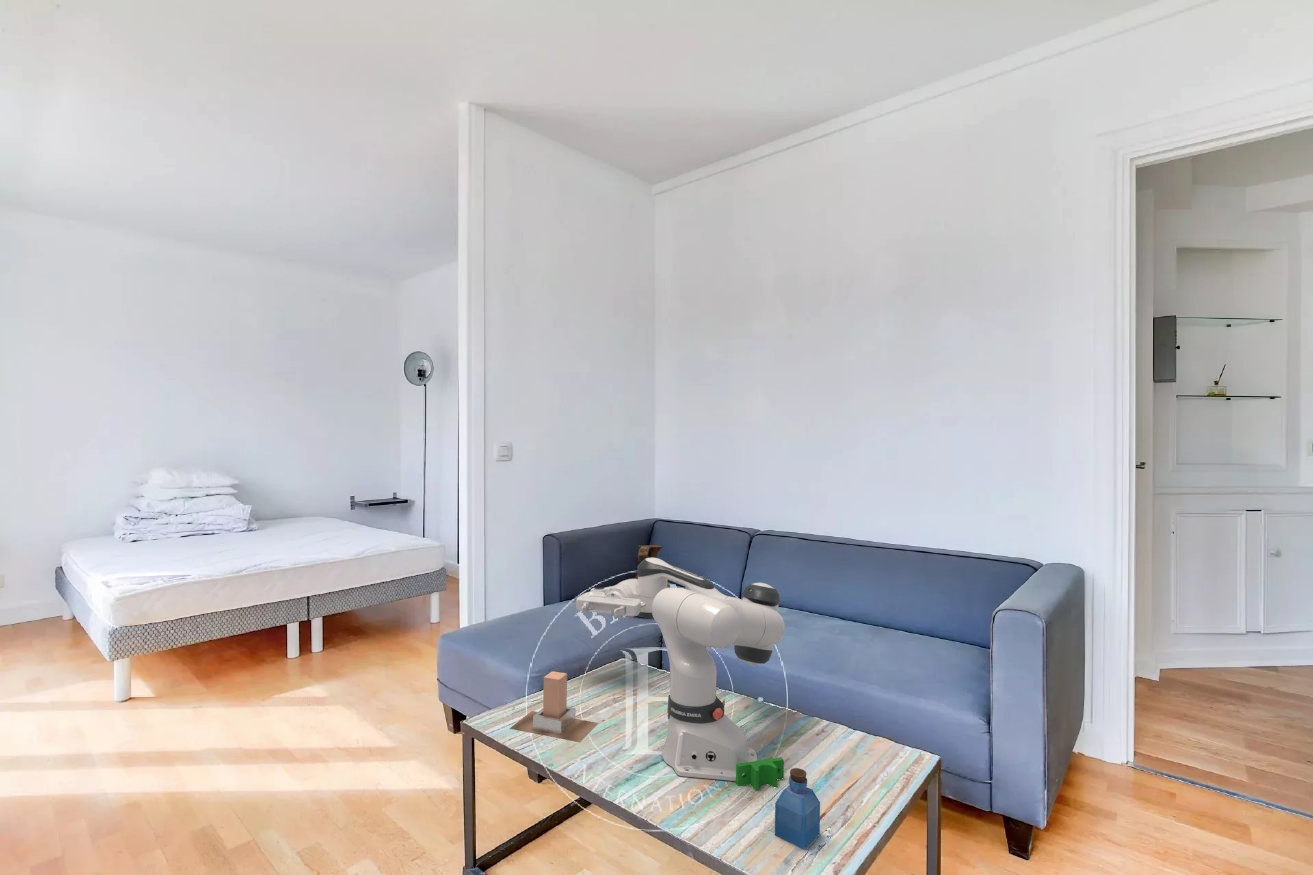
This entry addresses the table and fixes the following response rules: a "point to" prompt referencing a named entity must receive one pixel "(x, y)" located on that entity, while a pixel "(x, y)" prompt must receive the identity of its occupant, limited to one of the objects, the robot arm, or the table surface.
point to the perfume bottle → (797, 812)
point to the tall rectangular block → (555, 695)
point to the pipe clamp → (760, 772)
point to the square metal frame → (554, 722)
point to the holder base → (572, 733)
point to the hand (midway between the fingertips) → (598, 611)
